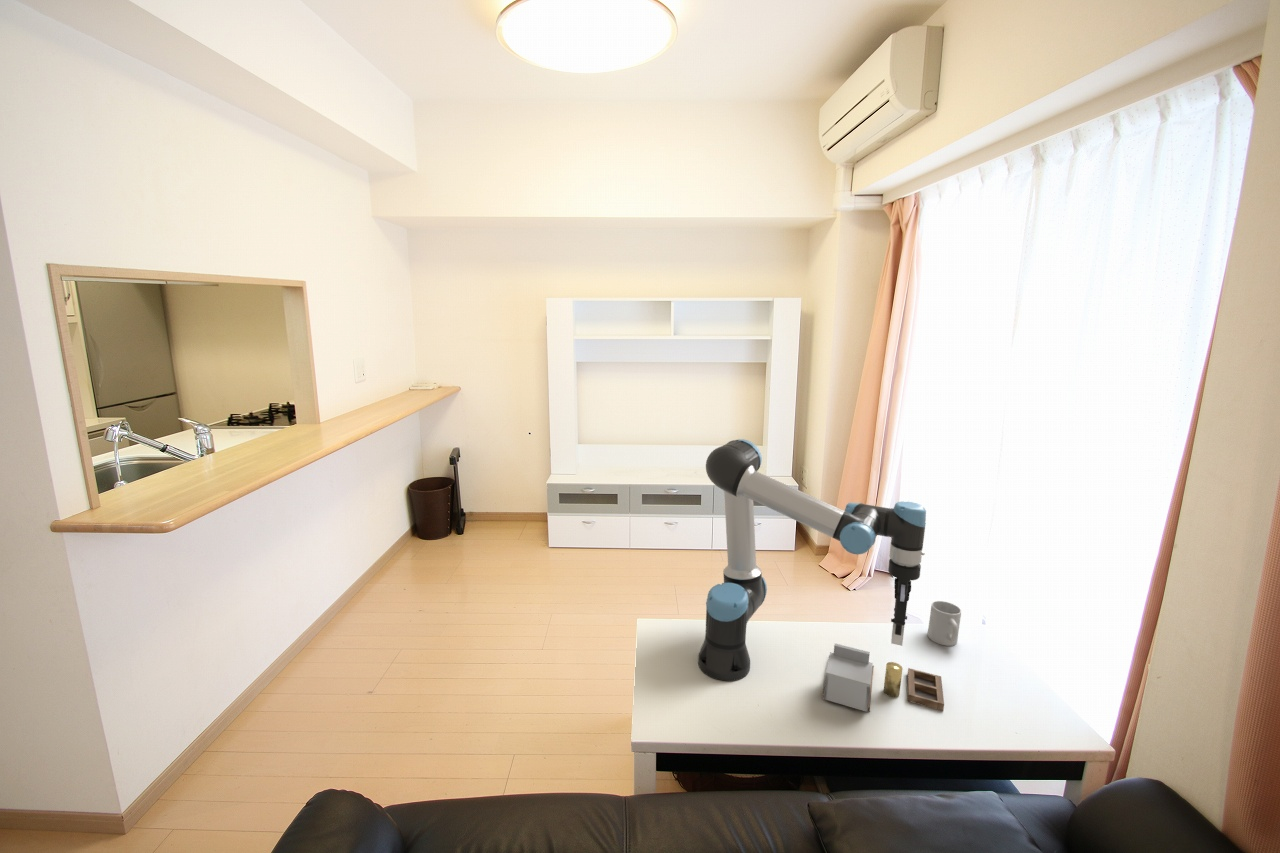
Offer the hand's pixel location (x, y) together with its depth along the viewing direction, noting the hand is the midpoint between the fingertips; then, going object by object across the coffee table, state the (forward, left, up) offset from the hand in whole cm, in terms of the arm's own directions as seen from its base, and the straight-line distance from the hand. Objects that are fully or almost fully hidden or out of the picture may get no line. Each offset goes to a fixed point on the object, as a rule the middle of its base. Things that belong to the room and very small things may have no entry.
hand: (896, 642), depth 148 cm
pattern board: (-11, -1, -15) cm, 19 cm away
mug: (+15, +35, -15) cm, 41 cm away
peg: (0, 0, -15) cm, 15 cm away
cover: (-11, -8, -14) cm, 19 cm away
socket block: (+8, +5, -15) cm, 18 cm away
